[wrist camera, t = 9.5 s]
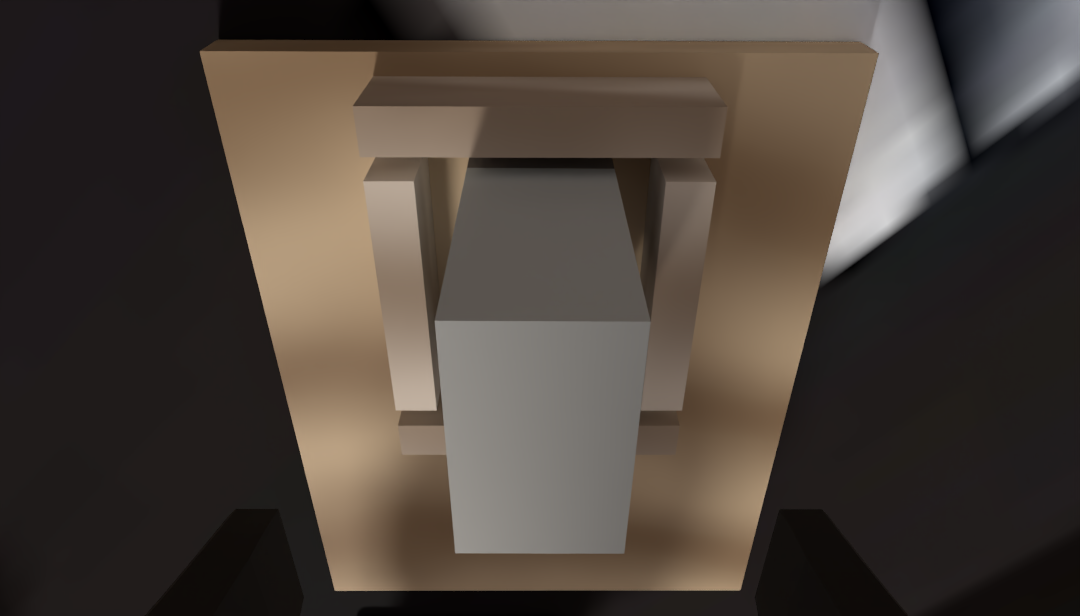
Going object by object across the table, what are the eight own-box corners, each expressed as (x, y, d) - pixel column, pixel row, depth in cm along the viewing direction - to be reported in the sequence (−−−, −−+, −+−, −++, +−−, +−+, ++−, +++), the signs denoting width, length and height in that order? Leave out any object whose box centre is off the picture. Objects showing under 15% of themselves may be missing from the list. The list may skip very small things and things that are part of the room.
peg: (607, 142, 16) (650, 321, 10) (596, 328, 18) (624, 553, 13) (472, 141, 16) (434, 320, 10) (481, 326, 18) (455, 553, 13)
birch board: (733, 565, 25) (755, 644, 23) (341, 566, 25) (320, 645, 23) (860, 41, 16) (922, 81, 13) (217, 39, 15) (156, 78, 13)
